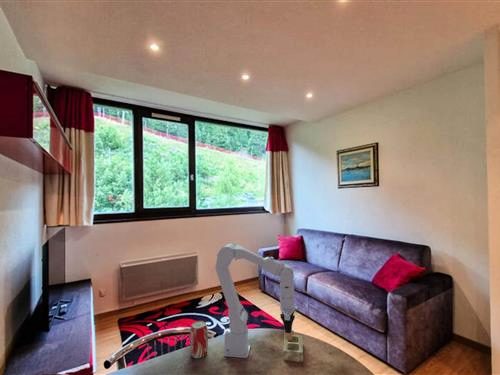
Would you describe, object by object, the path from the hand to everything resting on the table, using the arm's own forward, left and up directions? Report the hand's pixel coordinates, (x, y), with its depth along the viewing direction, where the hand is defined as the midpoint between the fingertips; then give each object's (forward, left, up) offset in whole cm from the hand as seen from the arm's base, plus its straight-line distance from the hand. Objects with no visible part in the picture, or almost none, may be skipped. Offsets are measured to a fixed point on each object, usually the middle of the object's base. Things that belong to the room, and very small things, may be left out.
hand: (288, 330), depth 100 cm
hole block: (+2, +3, -10) cm, 11 cm away
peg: (0, 0, -3) cm, 3 cm away
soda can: (-36, -4, -10) cm, 38 cm away
